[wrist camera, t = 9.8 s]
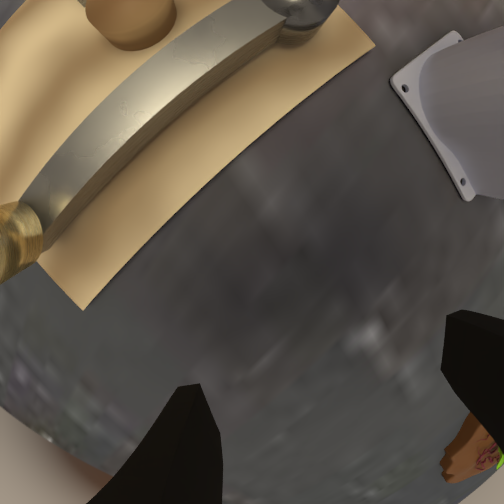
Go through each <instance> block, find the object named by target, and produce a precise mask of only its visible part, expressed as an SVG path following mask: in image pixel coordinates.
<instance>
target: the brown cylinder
mask: <svg viewBox="0 0 504 504" xmlns="http://www.w3.org/2000/svg"><path fill="white" fill-rule="evenodd" d="M85 12H86V16H87V19H88V21H89V22H90V23H91V24H92V25H93V26H94V27H95V28H96V29H97V30H98V31H99V32H100V33H101V34H102V35H103V36H104V37H105V38H106V39H107V40H108V41H109V42H110V43H111V44H112V45H113V46H114V47H116V48H118V49H121V50H124V51H139V50H143V49H146V48H149V47H151V46H153V45H155V44H157V43H158V42H160V41H161V40H162V39H164V38H165V37H166V36H167V35H168V33H169V32H170V31H171V29H172V28H173V26H174V24H175V21H176V17H177V11H176V6H175V3H174V0H87V1H86V6H85Z"/></svg>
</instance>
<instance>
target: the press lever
mask: <svg viewBox="0 0 504 504" xmlns="http://www.w3.org/2000/svg"><path fill="white" fill-rule="evenodd" d="M338 3H339V0H231V1H230V2H228V3H227V4H225V5H223V6H222V7H220V8H219V9H217V10H215V11H214V12H212V13H211V14H209V15H208V16H206V17H205V18H203V19H202V20H200V21H199V22H197V23H196V24H194V25H193V26H192V27H190V28H189V29H187V30H186V31H185V32H183V33H182V34H181V35H179V36H178V37H176V38H175V39H174V40H172V41H171V42H170V43H169V44H167V45H166V46H165V47H163V48H162V49H161V50H160V51H158V52H157V53H156V54H155V55H153V56H152V57H151V58H150V59H148V60H147V61H146V62H145V63H144V64H142V65H141V66H140V67H139V68H138V69H137V70H135V71H134V72H133V73H132V74H131V75H130V76H129V77H128V78H126V79H125V80H124V81H123V82H122V83H121V84H120V85H119V86H118V87H117V88H116V89H114V90H113V91H112V92H111V93H110V94H109V95H108V96H107V97H106V98H105V99H104V100H103V101H102V102H101V103H100V104H99V105H98V106H97V107H96V108H95V109H94V110H93V111H92V112H91V113H90V114H89V115H88V116H87V117H86V118H85V119H84V120H83V122H82V123H81V124H80V125H79V126H78V127H77V128H76V129H75V130H74V131H73V132H72V134H71V135H70V136H69V137H68V138H67V139H66V140H65V141H64V143H63V144H62V145H61V146H60V147H59V148H58V150H57V151H56V152H55V153H54V154H53V156H52V157H51V158H50V159H49V161H48V162H47V163H46V164H45V166H44V167H43V168H42V169H41V171H40V172H39V173H38V175H37V176H36V177H35V178H34V180H33V181H32V182H31V184H30V185H29V187H28V188H27V189H26V191H25V192H24V193H23V195H22V196H21V198H20V199H19V201H15V202H10V203H6V204H2V205H0V284H2V283H3V282H5V281H7V280H8V279H10V278H11V277H13V276H14V275H16V274H18V273H19V272H21V271H22V270H24V269H26V268H27V267H29V266H31V265H32V264H34V263H35V262H36V261H37V259H38V258H39V256H40V254H41V253H43V252H45V251H47V250H49V249H50V248H51V247H52V246H53V244H54V243H55V242H56V241H57V239H58V238H59V237H60V236H61V234H62V233H63V232H64V231H65V230H66V228H67V227H68V226H69V225H70V224H71V223H72V221H73V220H74V219H75V218H76V217H77V216H78V214H79V213H80V212H81V211H82V210H83V209H84V208H85V207H86V205H87V204H88V203H89V202H90V201H91V200H92V199H93V198H94V197H95V195H96V194H97V193H98V192H99V191H100V190H101V189H102V188H103V187H104V186H105V185H106V184H107V183H108V182H109V181H110V180H111V179H112V178H113V177H114V175H115V174H116V173H117V172H118V171H119V170H120V169H121V168H122V167H123V166H124V165H125V164H126V163H127V162H128V161H129V160H130V159H132V158H133V157H134V156H135V155H136V154H137V153H138V152H139V151H140V150H141V149H142V148H143V147H144V146H145V145H146V144H147V143H148V142H149V141H151V140H152V139H153V138H154V137H155V136H156V135H157V134H158V133H159V132H160V131H162V130H163V129H164V128H165V127H166V126H167V125H168V124H169V123H171V122H172V121H173V120H174V119H175V118H176V117H178V116H179V115H180V114H181V113H182V112H183V111H185V110H186V109H187V108H188V107H189V106H191V105H192V104H193V103H194V102H195V101H197V100H198V99H199V98H200V97H202V96H203V95H204V94H205V93H207V92H208V91H209V90H211V89H212V88H213V87H214V86H216V85H217V84H218V83H220V82H221V81H222V80H224V79H225V78H226V77H228V76H229V75H230V74H232V73H233V72H234V71H236V70H237V69H238V68H240V67H241V66H243V65H244V64H245V63H247V62H248V61H250V60H251V59H253V58H254V57H255V56H257V55H258V54H260V53H261V52H263V51H264V50H266V49H267V48H269V47H270V46H272V45H273V44H275V43H280V44H287V45H294V44H300V43H303V42H306V41H308V40H310V39H311V38H313V37H314V36H315V35H316V33H317V32H318V31H319V29H320V28H321V27H322V26H323V24H324V23H325V22H326V20H327V19H328V18H329V16H330V15H331V14H332V12H333V11H334V10H335V9H336V7H337V5H338Z"/></svg>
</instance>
